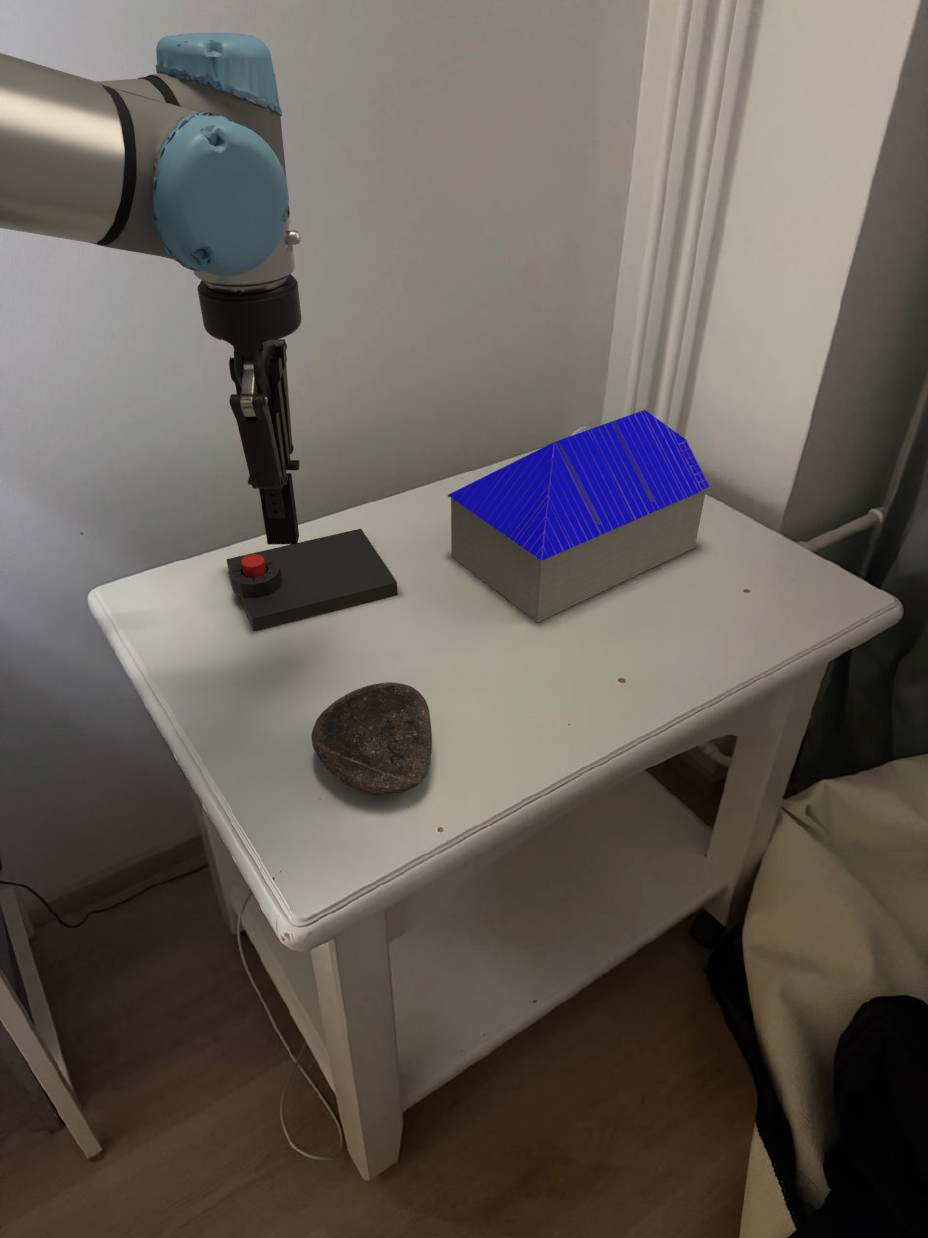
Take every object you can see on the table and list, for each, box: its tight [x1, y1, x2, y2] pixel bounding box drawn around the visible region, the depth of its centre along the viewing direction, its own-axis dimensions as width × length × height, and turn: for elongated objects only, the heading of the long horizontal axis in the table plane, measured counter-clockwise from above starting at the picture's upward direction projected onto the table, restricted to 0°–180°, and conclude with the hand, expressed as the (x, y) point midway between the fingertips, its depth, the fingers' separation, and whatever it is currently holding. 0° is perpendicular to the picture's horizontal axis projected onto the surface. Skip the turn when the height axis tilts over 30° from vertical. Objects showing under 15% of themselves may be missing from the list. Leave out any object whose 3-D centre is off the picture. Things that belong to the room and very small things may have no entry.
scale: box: [226, 528, 398, 632], centre depth 98 cm, size 17×12×4 cm
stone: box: [311, 681, 433, 796], centre depth 77 cm, size 11×11×5 cm
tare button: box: [242, 554, 266, 578], centre depth 95 cm, size 2×2×2 cm
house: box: [447, 408, 711, 623], centre depth 100 cm, size 25×16×16 cm, turn 126°
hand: (283, 539), depth 82 cm, fingers closed
